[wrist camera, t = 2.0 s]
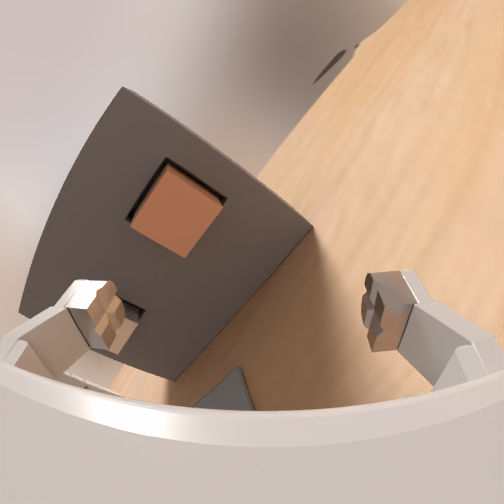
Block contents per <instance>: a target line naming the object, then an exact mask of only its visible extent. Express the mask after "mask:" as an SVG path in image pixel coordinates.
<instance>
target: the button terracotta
mask: <svg viewBox="0 0 504 504" xmlns="http://www.w3.org/2000/svg"><path fill="white" fill-rule="evenodd" d="M222 209H223V206H222V204H221V202H220V200H219V198H218V196H217V195H215V194H214V193H212V192H211V191H209V190H208V189H207V188H205V187H204V186H202V185H201V184H199V183H198V182H196V181H195V180H193V179H192V178H190V177H189V176H187V175H186V174H184V173H183V172H181V171H180V170H178V169H177V168H175V167H174V166H172V165H171V164H169V163H167V164H166V166H165V167H164V169H163V170H162V172H161V173H160V174H159V176H158V177H157V179H156V180H155V182H154V183H153V185H152V186H151V188H150V189H149V191H148V192H147V194H146V195H145V197H144V198H143V200H142V201H141V203H140V204H139V206H138V208H137V209H136V211H135V212H134V216H133V219H132V222H131V226H130V227H131V228H133V229H135V230H136V231H138V232H140V233H142V234H143V235H145V236H147V237H148V238H150V239H152V240H154V241H155V242H157V243H159V244H161V245H162V246H164V247H166V248H168V249H169V250H171V251H173V252H175V253H176V254H178V255H180V256H182V257H183V258H186V256H187V255H188V254H189V252H190V251H191V249H192V248H193V247H194V245H195V244H196V243H197V241H198V240H199V239H200V237H201V236H202V235H203V234H204V232H205V231H206V230H207V228H208V227H209V226H210V224H211V223H212V222H213V220H214V219H215V218H216V217H217V215H218V214H219V213H220V211H221V210H222Z"/></svg>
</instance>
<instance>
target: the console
mask: <svg viewBox="0 0 504 504" xmlns="http://www.w3.org/2000/svg"><path fill="white" fill-rule="evenodd" d="M167 163H169V164H171V165H172V166H174V167H175V168H177V169H178V170H180V171H181V172H183V173H184V174H186V175H187V176H189V177H190V178H192V179H193V180H195V181H196V182H198V183H199V184H201V185H202V186H204V187H205V188H207V189H208V190H209V191H211V192H212V193H214V194H215V195H217V196H218V198H219V200H220V202H221V204H222V206H223V209H222V210H221V211H220V213H219V214H218V215H217V217H216V218H215V219H214V220H213V222H212V223H211V224H210V226H209V227H208V228H207V230H206V231H205V232H204V234H203V235H202V236H201V237H200V239H199V240H198V241H197V243H196V244H195V245H194V247H193V248H192V249H191V251H190V252H189V254H188V255H187V256H186V258H183V257H182V256H180V255H178V254H176V253H175V252H173V251H171V250H169V249H168V248H166V247H164V246H162V245H161V244H159V243H157V242H155V241H154V240H152V239H150V238H148V237H147V236H145V235H143V234H142V233H140V232H138V231H136V230H135V229H133V228H131V227H130V226H131V222H132V219H133V216H134V212H135V211H136V209H137V208H138V206H139V204H140V203H141V201H142V200H143V198H144V197H145V195H146V194H147V192H148V191H149V189H150V188H151V186H152V185H153V183H154V182H155V180H156V179H157V177H158V176H159V174H160V173H161V172H162V170H163V169H164V167H165V166H166V164H167ZM312 227H313V226H312V225H311V224H310V223H309V222H308V221H307V220H306V219H305V218H304V217H302V216H301V215H300V214H299V213H298V212H297V211H296V210H295V209H294V208H293V207H292V206H290V205H289V204H288V203H287V202H286V201H284V200H283V199H282V198H281V197H279V196H278V195H277V194H276V193H274V192H273V191H272V190H271V189H269V188H268V187H267V186H266V185H264V184H263V183H262V182H260V181H259V180H258V179H257V178H255V177H254V176H253V175H251V174H250V173H249V172H247V171H246V170H245V169H244V168H242V167H241V166H240V165H238V164H237V163H236V162H234V161H233V160H232V159H230V158H229V157H228V156H226V155H225V154H224V153H222V152H221V151H219V150H218V149H217V148H215V147H214V146H213V145H211V144H210V143H208V142H207V141H206V140H204V139H203V138H202V137H200V136H199V135H197V134H196V133H194V132H193V131H192V130H190V129H189V128H187V127H186V126H185V125H183V124H182V123H180V122H179V121H177V120H176V119H174V118H173V117H172V116H170V115H168V114H167V113H166V112H164V111H163V110H161V109H160V108H158V107H157V106H155V105H154V104H152V103H151V102H149V101H148V100H146V99H145V98H143V97H142V96H140V95H139V94H137V93H136V92H134V91H132V90H129V89H127V88H124V87H122V88H121V89H120V90H119V92H118V93H117V95H116V96H115V97H114V99H113V100H112V102H111V103H110V105H109V106H108V108H107V109H106V111H105V112H104V114H103V115H102V117H101V118H100V120H99V121H98V123H97V124H96V126H95V128H94V129H93V131H92V133H91V134H90V136H89V138H88V139H87V141H86V143H85V144H84V146H83V148H82V150H81V151H80V153H79V155H78V157H77V159H76V161H75V162H74V164H73V167H72V168H71V170H70V172H69V174H68V176H67V178H66V180H65V182H64V184H63V186H62V188H61V191H60V193H59V195H58V197H57V199H56V201H55V204H54V206H53V208H52V210H51V213H50V215H49V218H48V220H47V222H46V225H45V228H44V230H43V233H42V235H41V238H40V241H39V244H38V246H37V249H36V252H35V255H34V258H33V261H32V264H31V267H30V271H29V274H28V277H27V281H26V284H25V288H24V292H23V295H22V300H21V303H20V307H19V313H21V314H22V315H24V316H26V317H27V318H29V319H31V318H33V317H34V316H36V315H38V314H39V313H41V312H43V311H44V310H46V309H48V308H49V307H51V306H52V307H54V306H55V304H56V303H57V302H58V301H59V299H60V298H61V297H62V295H63V294H64V293H65V292H66V291H67V289H68V288H69V287H70V286H71V284H72V283H73V282H74V281H75V280H78V279H87V280H89V279H90V280H110V281H112V282H114V284H115V286H116V289H117V293H116V296H118V297H120V298H122V299H124V300H126V301H128V302H130V303H132V304H134V305H136V306H139V322H138V325H137V327H136V328H135V330H134V331H133V333H132V334H131V336H130V337H129V339H128V340H127V342H126V343H125V345H124V346H123V348H122V349H121V351H120V352H119V354H118V355H117V354H115V353H113V352H110V351H108V350H106V349H97V348H90V349H91V350H93V351H95V352H98V353H100V354H102V355H104V356H107V357H109V358H112V359H114V360H117V361H119V362H121V363H124V364H127V365H129V366H132V367H134V368H137V369H140V370H143V371H145V372H148V373H151V374H154V375H157V376H160V377H163V378H166V379H169V380H172V381H175V380H176V378H177V377H178V376H179V375H180V374H181V373H182V372H183V371H184V370H185V369H186V368H187V367H188V366H189V365H190V364H191V363H192V361H193V360H194V359H195V358H196V357H197V356H198V355H199V354H200V353H201V352H202V351H203V350H204V349H205V347H206V346H207V345H208V344H209V343H210V342H211V341H212V340H213V339H214V338H215V337H216V336H217V334H218V333H219V332H220V331H221V330H222V329H223V328H224V327H225V326H226V325H227V323H228V322H229V321H230V320H231V319H232V318H233V317H234V316H235V315H236V313H237V312H238V311H239V310H240V309H241V308H242V307H243V306H244V305H245V303H246V302H247V301H248V300H249V299H250V298H251V297H252V296H253V295H254V293H255V292H256V291H257V290H258V289H259V288H260V287H261V285H262V284H263V283H264V282H265V281H266V280H267V279H268V278H269V276H270V275H271V274H272V273H273V272H274V271H275V270H276V268H277V267H278V266H279V265H280V264H281V263H282V262H283V260H284V259H285V258H286V257H287V256H288V255H289V253H290V252H291V251H292V250H293V249H294V248H295V246H296V245H297V244H298V243H299V242H300V241H301V239H302V238H303V237H304V236H305V235H306V234H307V232H308V231H309V230H310V229H311V228H312Z"/></svg>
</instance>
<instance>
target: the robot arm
mask: <svg viewBox="0 0 504 504" xmlns="http://www.w3.org/2000/svg"><path fill="white" fill-rule="evenodd" d="M365 287H366V290H367V292H366V293H365V294H364V295H363V296H362V303H361V315H362V320H363V324H364V326H365V327H367V328H368V329H369V330H368V334H367V338H368V341H369V344H370V348H371V351H372V352H381V351H391V350H398V352H399V353H400V354H401V355H402V356H403V357H404V358H405V359H406V360H407V361H408V362H409V363H410V364H411V365H412V366H413V367H414V368H415V369H416V370H417V371H418V372H419V373H420V374H422V375H423V376H424V377H425V378H426V379H427V380H428V381H429V382H430V383H431V384H432V385H433V386H434V387H433V388H432V390H431V392H428V393H424V394H419V395H415V396H410V397H405V398H400V399H395V400H389V401H383V402H377V403H370V404H363V405H355V406H347V407H337V408H326V409H312V410H292V411H237V410H217V409H203V408H192V407H182V406H173V405H165V404H158V403H152V402H145V401H139V400H134V399H128V398H123V397H118V396H113V395H109V394H104V393H100V392H96V391H92V390H88V389H84V388H80V387H76V386H73V385H69V384H65V383H62V382H59V381H57V380H56V379H57V378H58V377H59V376H60V375H62V374H63V373H64V372H65V371H66V370H67V369H68V368H69V367H70V366H71V365H72V364H74V363H75V362H76V361H77V360H78V359H79V358H80V357H81V356H82V355H83V354H85V353H86V352H87V351H88V350H89V349H90V348H97V349H106V350H109V349H110V347H111V345H112V343H113V341H114V339H115V337H116V334H115V331H116V330H117V329H118V328H120V327H121V326H122V324H123V322H124V316H125V310H124V305H123V303H122V301H121V300H120V299H119V298H118V297H117V296H116V293H117V289H116V286H115V284H114V282H112V281H110V280H90V279H89V280H87V279H78V280H75V281H74V282H73V283H72V284H71V286H70V287H69V288H68V289H67V291H66V292H65V293H64V294H63V295H62V297H61V298H60V299H59V301H58V302H57V303H56V304H55V306H54V307H52V306H51V307H49V308H48V309H46V310H44V311H43V312H41V313H39V314H38V315H36V316H34V317H33V318H31V319H30V320H28V321H26V322H25V323H23V324H22V325H20V326H19V327H17V328H15V329H14V330H12V331H11V332H9V333H7V334H6V335H5V336H4V338H3V339H2V340H1V342H0V504H504V352H503V350H502V348H501V347H500V345H499V343H498V341H497V340H496V338H495V337H494V336H493V335H491V334H490V333H488V332H487V331H485V330H484V329H482V328H480V327H479V326H477V325H476V324H474V323H473V322H471V321H469V320H468V319H466V318H465V317H463V316H461V315H460V314H458V313H457V312H455V311H453V310H452V309H450V308H448V307H447V306H445V305H443V304H442V303H440V302H438V301H433V299H432V298H431V296H430V294H429V293H428V291H427V290H426V288H425V286H424V285H423V283H422V281H421V280H420V278H419V277H418V275H417V274H416V272H415V271H414V270H412V269H408V270H398V271H391V272H378V273H367V276H366V279H365Z"/></svg>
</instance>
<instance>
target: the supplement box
mask: <svg viewBox="0 0 504 504" xmlns="http://www.w3.org/2000/svg"><path fill="white" fill-rule="evenodd" d="M56 380H57V381H59V382H62V383H65V384H69V385H73V386H76V387H80V388H84V389H88V390H92V391H96V392H100V393H104V394H109V395H113V396H118V397H123V398H125V397H124V396H122V395H120V394H118V393H117V392H115V391H112V390H110V389H107V388H104V387H102V386H99V385H97V384H94V383H92V382H89V381H87V380H85V379H82V378H80V377H78V376H75V375H73V374H71V373H69V372H67V371H65V372H64V373H63V374H62V375H60V376H59V377H58V378H57V379H56Z"/></svg>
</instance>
